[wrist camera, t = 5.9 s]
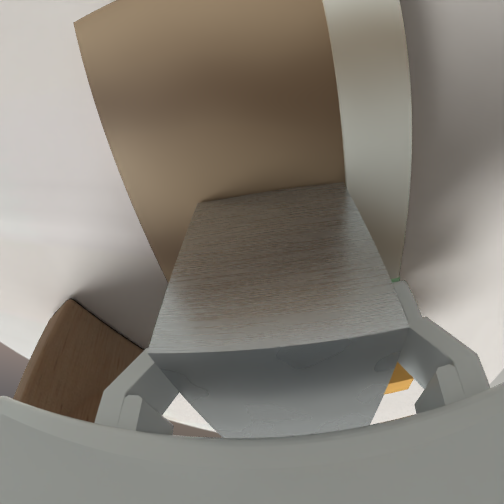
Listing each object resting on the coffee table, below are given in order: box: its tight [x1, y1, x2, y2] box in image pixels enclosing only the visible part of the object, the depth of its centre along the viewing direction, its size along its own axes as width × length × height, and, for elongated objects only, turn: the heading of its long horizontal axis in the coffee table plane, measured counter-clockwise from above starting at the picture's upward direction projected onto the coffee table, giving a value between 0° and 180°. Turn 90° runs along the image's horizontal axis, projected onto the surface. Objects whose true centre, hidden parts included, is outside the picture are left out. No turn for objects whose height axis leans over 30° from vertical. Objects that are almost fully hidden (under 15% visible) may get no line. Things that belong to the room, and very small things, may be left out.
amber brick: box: [384, 362, 414, 394], centre depth 11 cm, size 1×2×4 cm, turn 101°
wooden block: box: [13, 299, 144, 423], centre depth 12 cm, size 9×4×18 cm, turn 39°
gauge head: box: [147, 182, 409, 438], centre depth 10 cm, size 8×8×6 cm
